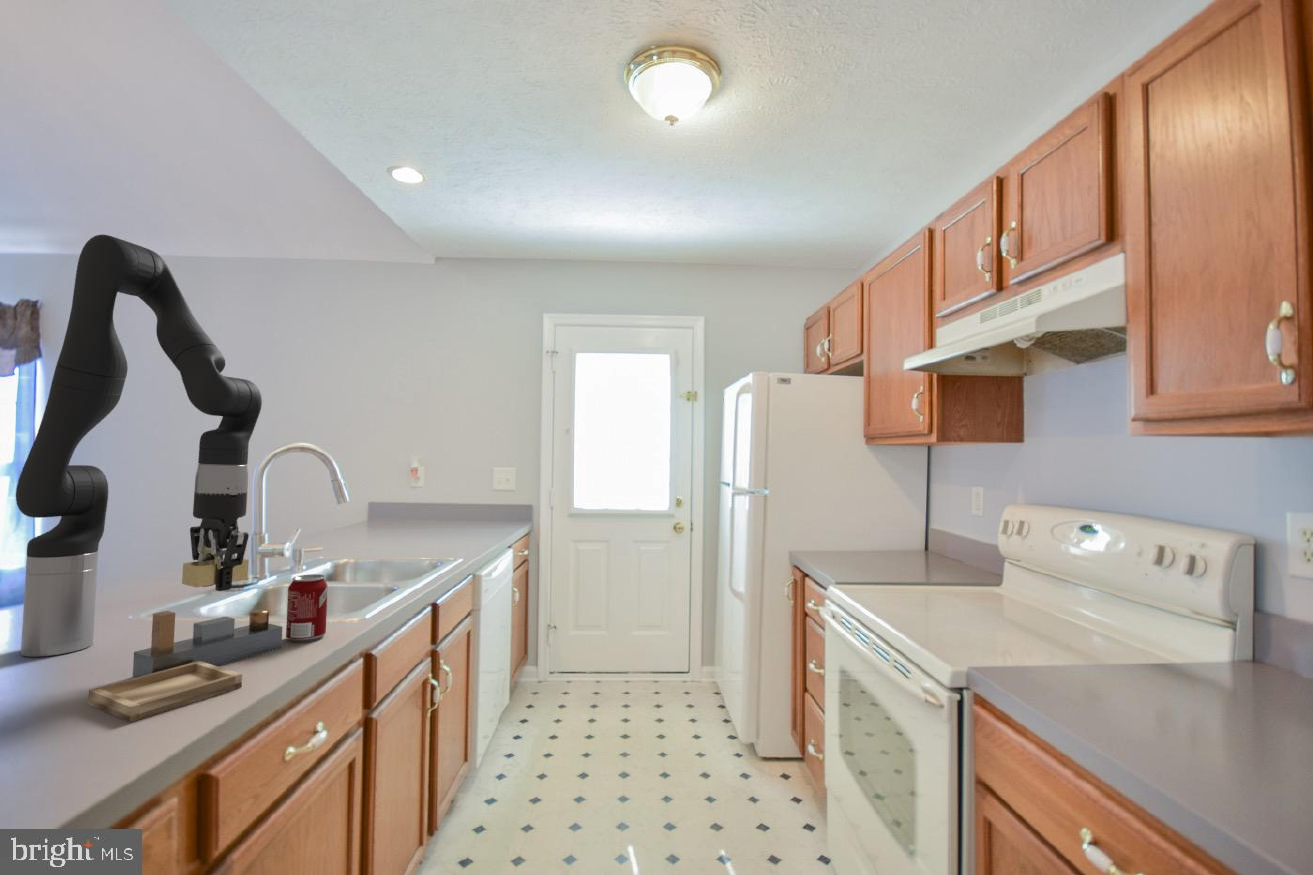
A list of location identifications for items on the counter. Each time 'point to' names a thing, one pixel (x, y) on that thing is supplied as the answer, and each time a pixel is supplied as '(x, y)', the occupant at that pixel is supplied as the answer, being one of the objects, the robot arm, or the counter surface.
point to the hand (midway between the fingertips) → (215, 587)
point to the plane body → (206, 642)
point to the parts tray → (163, 690)
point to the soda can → (306, 608)
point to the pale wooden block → (210, 573)
